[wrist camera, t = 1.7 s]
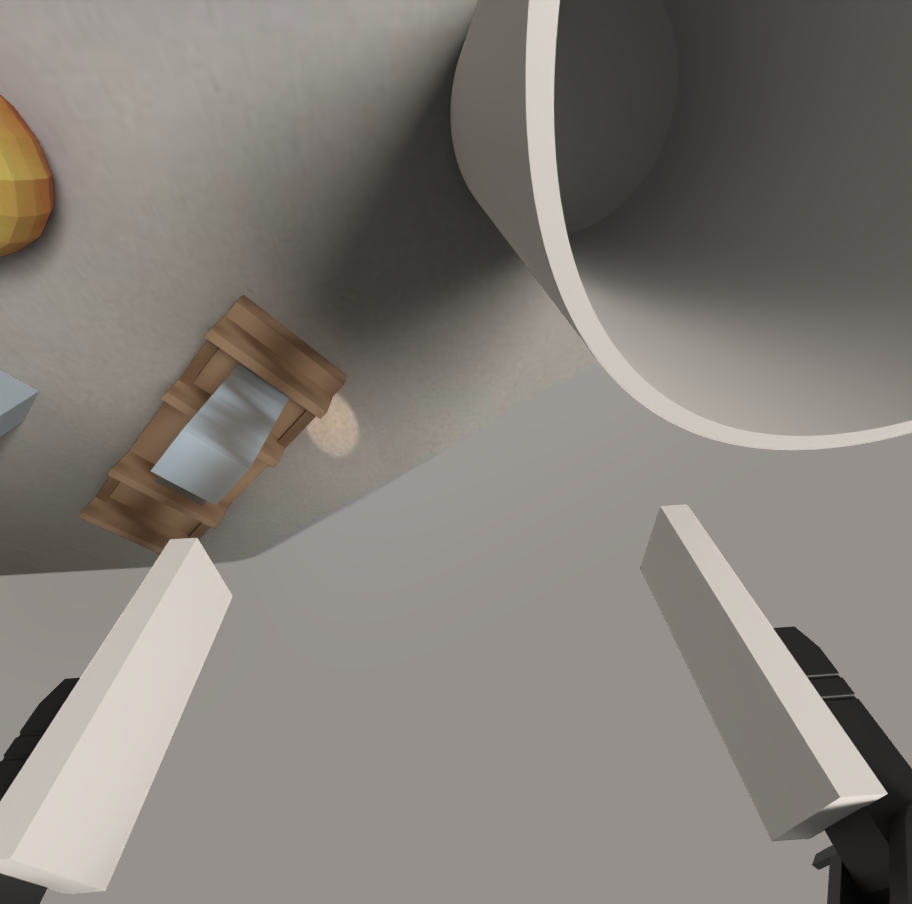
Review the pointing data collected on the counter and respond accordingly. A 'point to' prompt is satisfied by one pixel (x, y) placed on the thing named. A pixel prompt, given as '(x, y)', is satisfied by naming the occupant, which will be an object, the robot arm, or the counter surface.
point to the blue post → (14, 401)
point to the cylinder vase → (710, 200)
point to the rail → (182, 404)
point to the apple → (21, 183)
